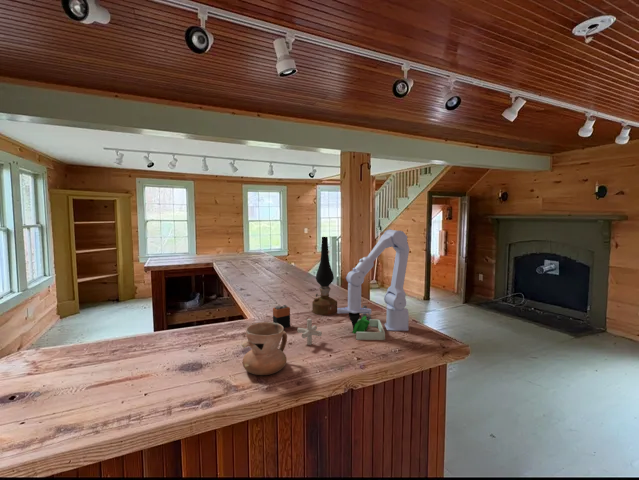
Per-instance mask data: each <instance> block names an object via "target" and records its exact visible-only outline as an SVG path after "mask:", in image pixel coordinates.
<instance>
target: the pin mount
mask: <svg viewBox="0 0 639 480" xmlns="http://www.w3.org/2000/svg"><path fill="white" fill-rule="evenodd" d="M364 316H366V317H367V318H368V321H370V319H372V314H360V319H361V318H363V317H364Z"/></svg>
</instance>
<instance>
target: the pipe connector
mask: <svg viewBox="0 0 639 480" xmlns="http://www.w3.org/2000/svg"><path fill="white" fill-rule="evenodd" d="M312 324H313V323H312V318H307V320H306V328H303V327H297V330H296V331H297V333H301V337H302V339H306V341H307V342H306V343H307V345H308V346H312V344H313V339H312V338H313V336H318V337H322V334H323V331H321V330H317V329H318V327H317V325H312Z"/></svg>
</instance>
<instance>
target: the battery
mask: <svg viewBox="0 0 639 480" xmlns="http://www.w3.org/2000/svg"><path fill="white" fill-rule="evenodd" d="M272 322H274V323H278V324H281V325H282V326H283V328H284V329H287V328H290V327H291V307H289V306H288V305H286V304H283V305H276V306H274V307H273V308H272Z"/></svg>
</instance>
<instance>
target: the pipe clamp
mask: <svg viewBox="0 0 639 480" xmlns="http://www.w3.org/2000/svg"><path fill="white" fill-rule="evenodd" d="M366 318H367V317H366V316H364V317H363V318H361V317H360V318H359V319H360V320H359V321H358V322H357V323H356V324H355V327H354V329H353V328H352V334H354V335H355V334H356V332H367V330H368V327H369V323H370V321H368V320H366Z"/></svg>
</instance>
